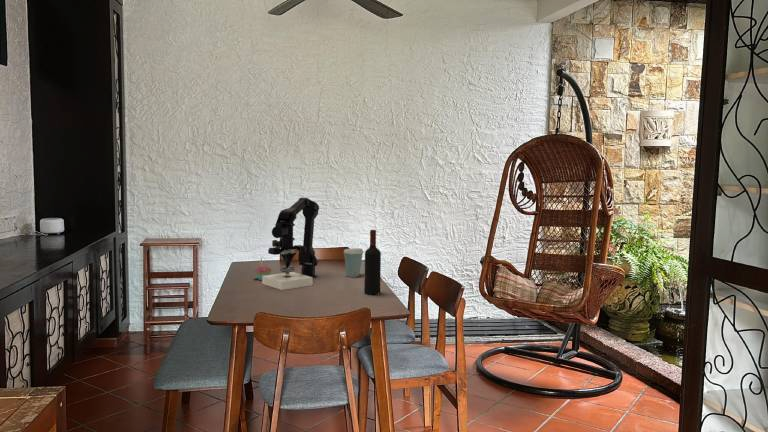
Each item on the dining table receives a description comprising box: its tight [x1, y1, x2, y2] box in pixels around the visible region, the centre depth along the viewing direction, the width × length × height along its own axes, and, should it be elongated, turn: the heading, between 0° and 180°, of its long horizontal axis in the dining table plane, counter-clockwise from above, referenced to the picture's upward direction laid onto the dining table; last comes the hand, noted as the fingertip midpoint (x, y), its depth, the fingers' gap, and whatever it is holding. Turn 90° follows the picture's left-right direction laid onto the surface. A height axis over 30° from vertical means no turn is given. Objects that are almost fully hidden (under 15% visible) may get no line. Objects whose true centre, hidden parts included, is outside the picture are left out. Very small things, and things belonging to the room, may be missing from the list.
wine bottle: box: [363, 229, 382, 295], centre depth 295 cm, size 8×8×30 cm
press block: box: [261, 271, 314, 291], centre depth 313 cm, size 18×18×4 cm
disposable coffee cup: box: [343, 247, 364, 278], centre depth 337 cm, size 11×11×15 cm
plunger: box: [279, 265, 295, 278], centre depth 313 cm, size 7×7×6 cm
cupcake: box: [254, 257, 272, 281], centre depth 325 cm, size 9×8×12 cm
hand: (287, 266), depth 313 cm, fingers closed, pressing on plunger
